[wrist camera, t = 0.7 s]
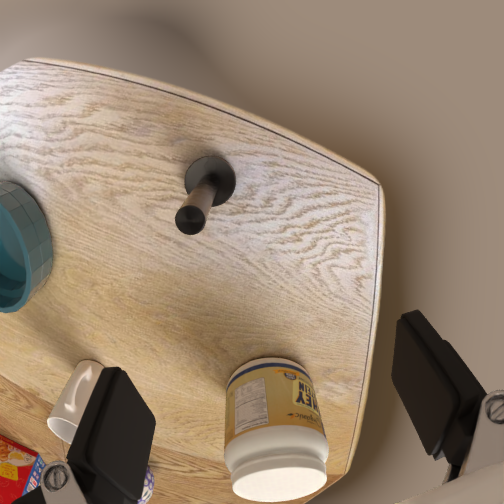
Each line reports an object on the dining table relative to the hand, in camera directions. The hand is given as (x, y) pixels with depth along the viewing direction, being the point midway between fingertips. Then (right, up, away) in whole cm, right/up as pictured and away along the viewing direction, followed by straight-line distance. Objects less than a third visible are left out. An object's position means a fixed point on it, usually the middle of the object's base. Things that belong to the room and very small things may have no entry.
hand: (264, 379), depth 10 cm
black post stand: (-5, +11, +21) cm, 24 cm away
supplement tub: (+2, -15, +32) cm, 36 cm away
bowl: (-32, +6, +22) cm, 39 cm away
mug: (-24, -13, +31) cm, 41 cm away
